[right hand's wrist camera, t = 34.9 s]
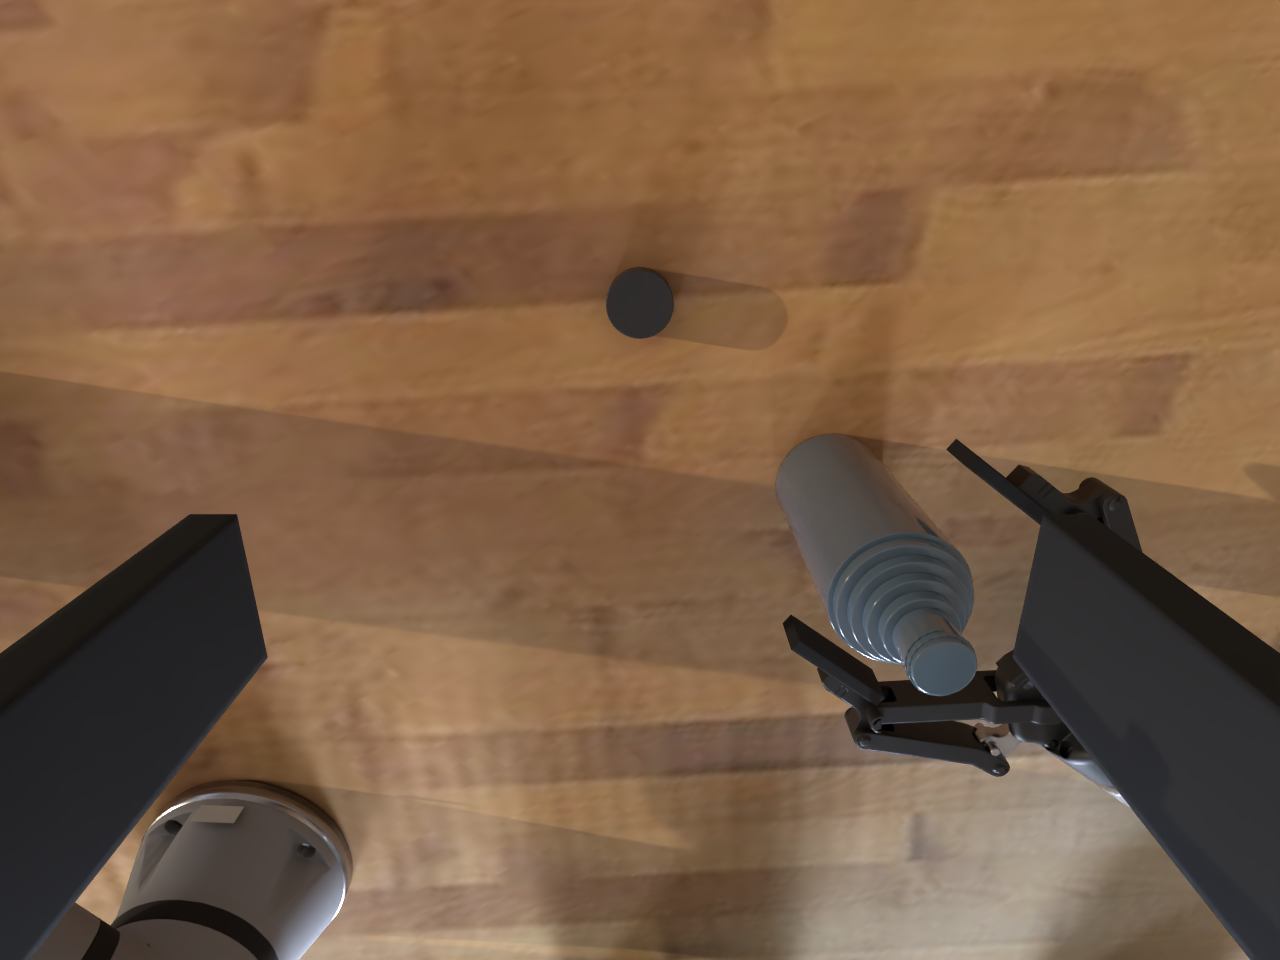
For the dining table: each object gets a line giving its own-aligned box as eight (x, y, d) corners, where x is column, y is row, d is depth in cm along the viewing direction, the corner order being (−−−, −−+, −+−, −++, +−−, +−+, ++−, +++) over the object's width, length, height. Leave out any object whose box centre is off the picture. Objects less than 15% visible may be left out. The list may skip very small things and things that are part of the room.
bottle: (773, 439, 46) (858, 604, 28) (881, 427, 46) (1038, 586, 28) (777, 536, 49) (859, 744, 30) (880, 525, 48) (1024, 729, 30)
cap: (658, 342, 44) (658, 348, 42) (598, 319, 43) (596, 324, 42) (681, 281, 43) (683, 285, 41) (620, 257, 42) (619, 260, 41)
